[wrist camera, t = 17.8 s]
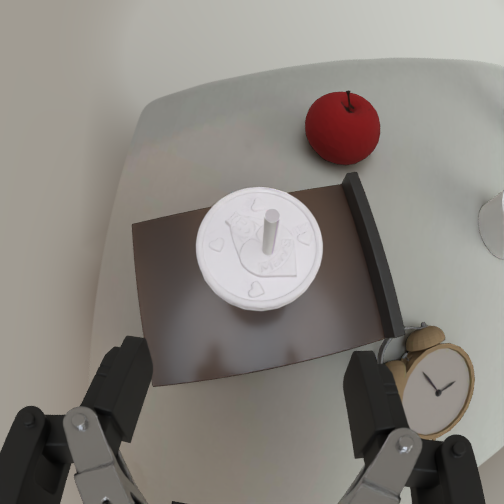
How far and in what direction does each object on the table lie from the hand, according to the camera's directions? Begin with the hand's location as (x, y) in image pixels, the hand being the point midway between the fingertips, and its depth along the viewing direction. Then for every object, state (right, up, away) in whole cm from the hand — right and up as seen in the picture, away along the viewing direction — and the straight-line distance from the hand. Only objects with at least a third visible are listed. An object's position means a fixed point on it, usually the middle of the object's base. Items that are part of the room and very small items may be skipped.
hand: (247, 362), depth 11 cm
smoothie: (+1, +2, +13) cm, 13 cm away
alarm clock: (+19, -11, +19) cm, 29 cm away
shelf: (+1, -1, +22) cm, 22 cm away
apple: (+11, +18, +28) cm, 35 cm away
